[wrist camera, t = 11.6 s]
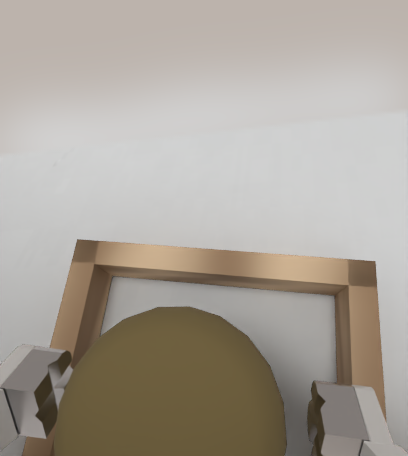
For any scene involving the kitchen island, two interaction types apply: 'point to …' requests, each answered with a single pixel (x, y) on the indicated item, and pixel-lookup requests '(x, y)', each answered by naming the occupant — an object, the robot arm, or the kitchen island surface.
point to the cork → (171, 391)
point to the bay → (225, 276)
